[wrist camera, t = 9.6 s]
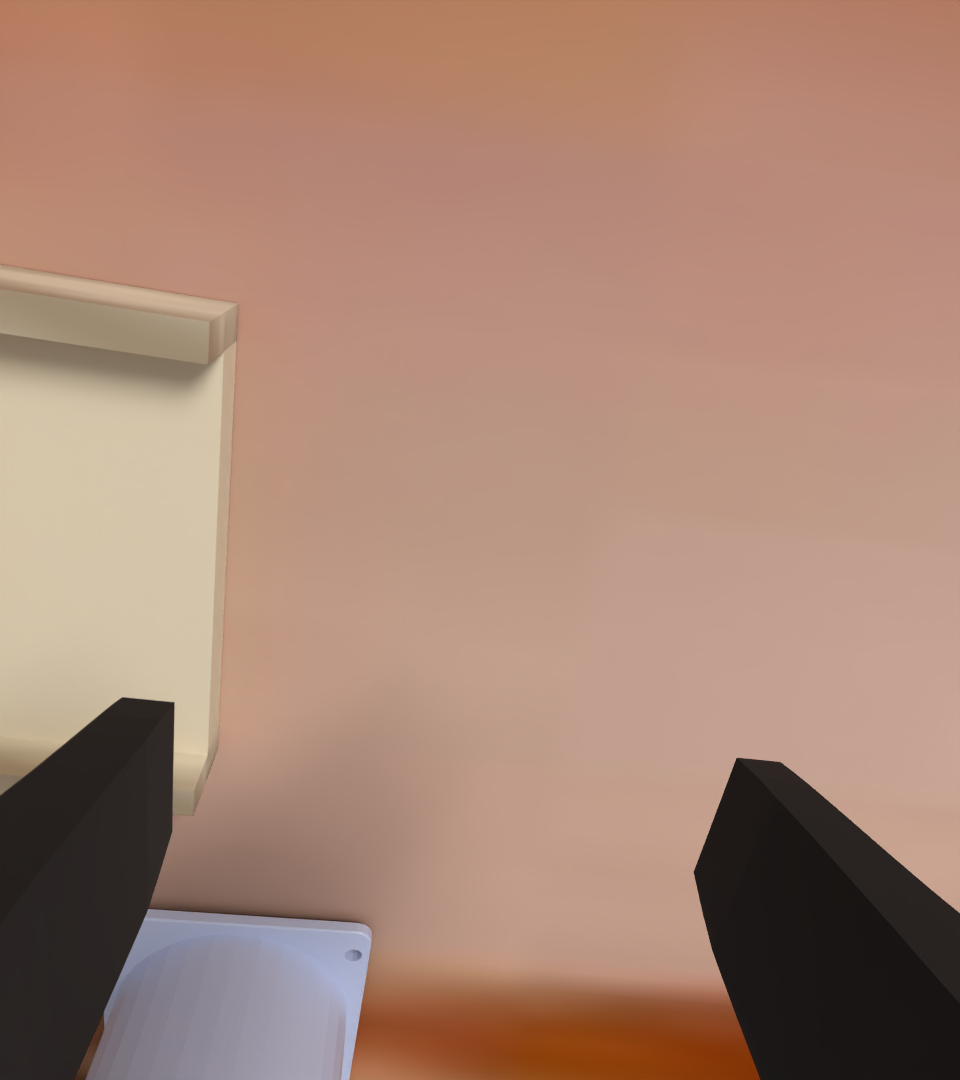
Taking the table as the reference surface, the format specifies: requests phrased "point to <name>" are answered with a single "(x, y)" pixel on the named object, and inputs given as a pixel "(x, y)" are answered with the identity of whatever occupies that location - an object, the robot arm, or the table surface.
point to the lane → (112, 536)
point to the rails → (126, 326)
